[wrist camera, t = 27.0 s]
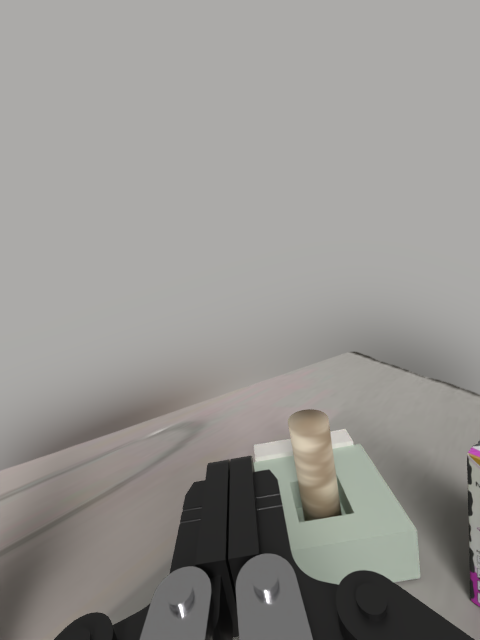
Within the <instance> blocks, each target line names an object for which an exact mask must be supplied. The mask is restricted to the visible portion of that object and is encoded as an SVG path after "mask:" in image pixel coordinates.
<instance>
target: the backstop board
mask: <svg viewBox="0 0 480 640" xmlns="http://www.w3.org/2000/svg"><path fill="white" fill-rule="evenodd" d="M330 434H331V441H332V449H334V448H339V447H345V446H351V445H353V440H352V439H351V437H350V435H349V434H348V432H347V431H346V429H343V430H337V431H331V432H330ZM254 453H255V460H256V462H259V461H264V460H270V459H276V458H282V457H287V456H293V449H292V443H291V439H285V440H280V441H274V442H268V443H262V444H257V445H254Z"/></svg>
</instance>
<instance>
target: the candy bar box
mask: <svg viewBox="0 0 480 640" xmlns="http://www.w3.org/2000/svg"><path fill="white" fill-rule="evenodd" d="M467 471H468V510H469V512H468V514H469V553H470V596H471V601H472V602H473V603H475V604H476V605H478V606H479V607H480V441H479V442H478V444H476V445H473V447H472V448H471V449H470V450H469V452H468V453H467Z"/></svg>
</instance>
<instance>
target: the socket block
mask: <svg viewBox="0 0 480 640" xmlns="http://www.w3.org/2000/svg"><path fill="white" fill-rule="evenodd" d="M333 456H334V463H335V470H336V477H337V485H338V492H339V499H340V506H341V513H342V515H341V516H335V517H329V518H323V519H317V520H311V521H305V520H304V514H303V508H302V503H301V497H300V491H299V485H298V479H297V473H296V467H295V461H294V455H293V456H287V457H282V458H276V459H270V460H264V461H259V462H253V464H254V469H255V472H256V471H262V470H268V469H269V470H270V471H271V472H272V473H273V474H274V476H275V477H276V478H277V479H278V484H279V489H280V495H281V500H282V505H283V511H284V516H285V521H286V526H287V532H288V537H289V542H290V547H291V552H292V556H293V558H294V561H295V562H296V564H297V565H298V567H299V568H300V569H301V570H302V571H303V572H304V573H305V574H307V575H308V576H310V577H312V578H314V579H316V580H319V581H323V582H328V583H333V584H338V585H339V584H340V582H341V580H342V579H343V578H344V577H345V576H347V575H348V574H350V573H352V572H354V571H359V570H368V571H373V572H377V573H379V574H381V575H383V576H385V577H386V578H388V579H390V580H391V581H392V582H399V581H406V580H412V579H418V578H420V566H419V553H418V540H417V529H416V528H415V526H414V525H413V523H412V522H411V520H410V519H409V517H408V516H407V514H406V513H405V511H404V510H403V508H402V506H401V505H400V503H399V502H398V500H397V499H396V497H395V496H394V494H393V493H392V491H391V490H390V488H389V487H388V485H387V484H386V482H385V481H384V479H383V478H382V476H381V475H380V473H379V471H378V470H377V468H376V467H375V465H374V464H373V462H372V461H371V459H370V458H369V456H368V455H367V453H366V452H365V450H364V449H363V447H362V446H361V444H357V445H351V446H345V447H339V448H334V449H333Z"/></svg>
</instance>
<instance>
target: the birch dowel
mask: <svg viewBox="0 0 480 640" xmlns="http://www.w3.org/2000/svg"><path fill="white" fill-rule="evenodd" d="M288 425H289V431H290V437H291V443H292V449H293V455H294V461H295V467H296V473H297V479H298V485H299V491H300V497H301V503H302V508H303V514H304V520H305V521H311V520H317V519H323V518H329V517H335V516H341V515H342V513H341V506H340V499H339V492H338V485H337V477H336V470H335V463H334V456H333V449H332V441H331V434H330V427H329V420H328V416H327V415H326V414H325V413H323V412H321V411H318V410H302V411H298V412H296V413H294V414H292V415H291V416H290V417H289V419H288Z"/></svg>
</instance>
